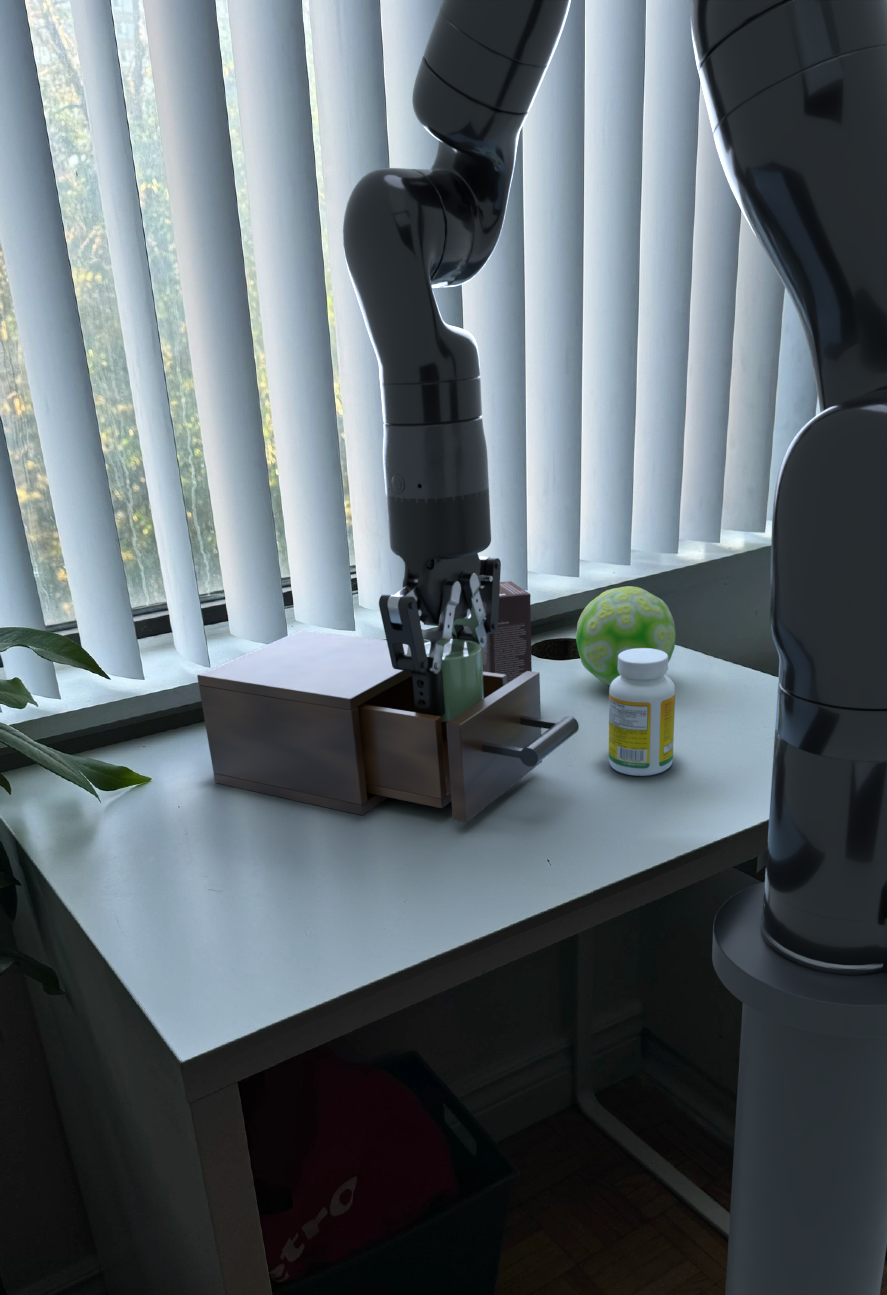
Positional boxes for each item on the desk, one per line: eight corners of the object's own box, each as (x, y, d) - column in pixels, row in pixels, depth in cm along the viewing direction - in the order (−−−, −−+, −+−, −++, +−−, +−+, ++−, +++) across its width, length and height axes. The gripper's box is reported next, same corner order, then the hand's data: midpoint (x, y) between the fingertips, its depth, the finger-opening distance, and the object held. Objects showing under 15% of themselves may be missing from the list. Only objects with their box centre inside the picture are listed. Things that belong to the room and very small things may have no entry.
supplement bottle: (623, 781, 88) (623, 669, 84) (599, 757, 93) (598, 650, 89) (684, 771, 89) (687, 660, 85) (657, 748, 94) (659, 642, 90)
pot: (497, 703, 86) (494, 642, 84) (462, 726, 82) (458, 663, 80) (439, 694, 89) (435, 635, 87) (403, 716, 85) (398, 655, 83)
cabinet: (452, 753, 96) (445, 647, 92) (362, 815, 85) (350, 699, 81) (313, 728, 104) (300, 629, 100) (214, 782, 93) (196, 675, 89)
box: (536, 717, 103) (532, 592, 98) (490, 724, 102) (484, 598, 97) (516, 697, 108) (511, 578, 103) (473, 703, 107) (466, 584, 102)
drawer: (594, 771, 88) (593, 679, 85) (522, 835, 78) (518, 734, 75) (398, 736, 98) (391, 653, 94) (312, 790, 88) (301, 699, 85)
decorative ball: (556, 686, 110) (554, 589, 106) (626, 663, 115) (626, 570, 111) (626, 709, 103) (626, 607, 99) (697, 684, 108) (700, 585, 104)
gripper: (427, 505, 71) (443, 743, 78) (529, 470, 82) (535, 682, 89) (335, 501, 75) (359, 729, 82) (444, 468, 85) (457, 671, 92)
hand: (451, 703), depth 85 cm, fingers closed on pot, 5 cm apart
